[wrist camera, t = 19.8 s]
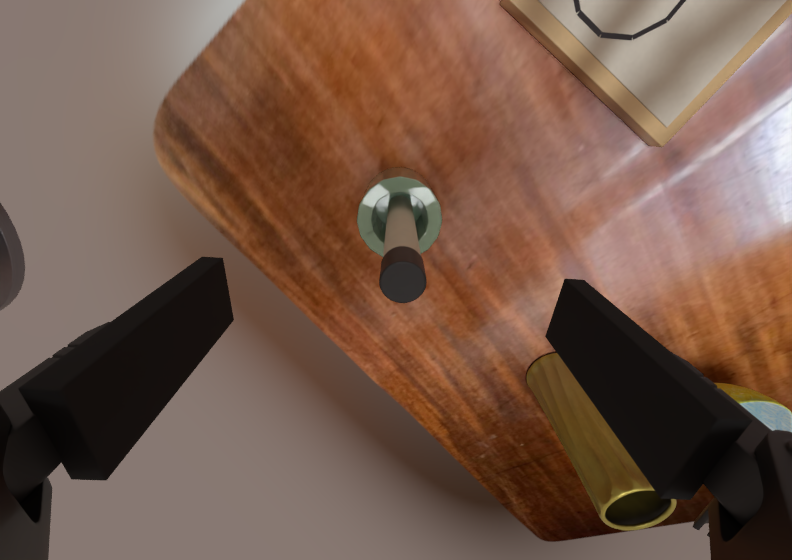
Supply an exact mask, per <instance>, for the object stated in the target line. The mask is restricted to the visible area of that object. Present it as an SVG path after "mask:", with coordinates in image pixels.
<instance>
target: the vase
mask: <svg viewBox="0 0 792 560" xmlns="http://www.w3.org/2000/svg"><path fill="white" fill-rule="evenodd" d="M526 380H527V384H528V386H529V388H530V389H531V390H532V391H533V393H534V395H535V397H536V399H537V400H538V402H539V404H540V406H541V407H542V409H543V411H544V412H545V414H546V416H547V418H548V419H549V421H550V423H551V425H552V427H553V429H554V431H555V432H556V434H557V436H558V438H559V440H560V441H561V443H562V445H563V447H564V449H565V451H566V453H567V455H568V456H569V458H570V460H571V462H572V464H573V466H574V468H575V470H576V472H577V473H578V475H579V477H580V479H581V481H582V483H583V485H584V487H585V489H586V491H587V493H588V495H589V496H590V498H591V500H592V502H593V504H594V506H595V508H596V510H597V512H598V514H599V516H600V518H601V519H602V521H603V522H604V523H605V524H607V525H608V526H610V527H612V528H616V529H620V530H639V529H643V528H647V527H650V526H653V525H656V524H658V523H660V522H661V521H663V520H664V519H666V518H667V517H668V516H669V515H670V514H671V513H672V512H673V510H674V509H675V507H676V499H660V497H659V496H658V494H657V493H656V492H655V490H654V489H653V487H652V486H651V485H650V483H649V482H648V480H647V479H646V477H645V476H644V475H643V473H642V472H641V470H640V469H639V468H638V466H637V465H636V463H635V462H634V461H633V459H632V458H631V456H630V455H629V454H628V452H627V451H626V449H625V448H624V446H623V445H622V444H621V442H620V441H619V439H618V438H617V437H616V435H615V434H614V432H613V431H612V430H611V428H610V427H609V425H608V424H607V423H606V421H605V420H604V418H603V417H602V415H601V414H600V413H599V411H598V410H597V408H596V407H595V406H594V404H593V403H592V401H591V400H590V399H589V397H588V396H587V394H586V393H585V391H584V390H583V389H582V387H581V386H580V384H579V383H578V382H577V380H576V379H575V377H574V376H573V375H572V373H571V372H570V370H569V369H568V368H567V366H566V365H565V363H564V362H563V360H562V359H561V358H560V356H559V355H558V353H552V354H548V355H545V356H543V357H541V358H539V359H538V360H537V361H535V362H534V363H533V364H532V366H531V367H530V369H529V370H528V372H527V377H526Z"/></svg>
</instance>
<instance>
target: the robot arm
mask: <svg viewBox="0 0 792 560" xmlns="http://www.w3.org/2000/svg"><path fill="white" fill-rule="evenodd" d="M233 320H234V319H233V313H232V307H231V302H230V296H229V290H228V285H227V279H226V274H225V268H224V263H223V258H213V257H201V258H200V259H198V260H197V261H195V262H194V263H193V264H191V265H190V266H188V267H187V268H186V269H184V270H183V271H181V272H180V273H179V274H177V275H176V276H175V277H173V278H172V279H170V280H169V281H167V282H166V283H165V284H163V285H162V286H161V287H159V288H158V289H156V290H155V291H153V292H152V293H151V294H149V295H148V296H146V297H145V298H144V299H143V300H141V301H139V302H138V303H137V304H135V305H134V306H133V307H131V308H130V309H129V310H127V311H126V312H124V313H123V314H121V315H120V316H119V317H117V318H116V319H115V320H113V321H112V322H108V323H105V324H103V325H101V326H99V327H96V328H94V329H92V330H90V331H87V332H85V333H84V334H83V335H81V336H80V337H78V338H77V339H75V340H74V341H73V342H71V343H70V344H68V347H64V348H62V349H61V350H59V351H58V352H57V353H55V354H54V355H53V357H52V358H48V359H46V360H45V361H44V362H42V363H41V364H39V365H38V366H36V367H35V368H33V369H32V370H30V371H29V372H28V373H26V374H25V375H23V376H22V377H20V378H19V379H17V380H16V381H15V382H13V383H12V384H10V385H9V386H7V387H6V388H4V389H3V390H1V391H0V560H48V552H49V535H50V516H51V499H52V486H51V483H50V481H49V479H48V478H47V476H49V475H50V473H51V472H52V471H53V470H54V469H55V468H56V467H57V466H58V465H59V464H60V463H61V462H62V464H63V465H64V467H65V469H66V471H67V472H68V474H69V476H70V477H71V479H80V480H107V479H108V478H109V476H110V475H111V474H112V473H113V471H114V470H115V469H116V467H117V466H118V465H119V463H120V462H121V461H122V460H123V459H124V457H125V456H126V455H127V454H128V452H129V451H130V450H131V449H132V447H133V446H134V445H135V444H136V442H137V441H138V440H139V439H140V437H141V436H142V435H143V434H144V432H145V431H146V430H147V428H148V427H149V426H150V425H151V423H152V422H153V421H154V420H155V418H156V417H157V416H158V415H159V413H160V412H161V411H162V410H163V408H164V407H165V406H166V405H167V403H168V402H169V401H170V400H171V398H172V397H173V396H174V394H175V393H176V392H177V391H178V389H179V388H180V387H181V386H182V384H183V383H184V382H185V381H186V379H187V378H188V377H189V376H190V374H191V373H192V372H193V371H194V369H195V368H196V367H197V365H198V364H199V363H200V362H201V361H202V359H203V358H204V357H205V355H206V354H207V353H208V352H209V350H210V349H211V348H212V347H213V345H214V344H215V343H216V342H217V340H218V339H219V338H220V337H221V335H222V334H223V333H224V332H225V330H226V329H227V328H228V326H229V325H230V324H231V323H232V322H233ZM546 338H547V339H548V341H549V342H550V344H551V345H552V346H553V348H554V349H555V351H556V352H557V353H558V355H559V356H560V358H561V359H562V360H563V362H564V363H565V365H566V366H567V368H568V369H569V370H570V372H571V373H572V375H573V376H574V377H575V379H576V380H577V382H578V383H579V384H580V386H581V387H582V389H583V390H584V391H585V393H586V394H587V396H588V397H589V399H590V400H591V401H592V403H593V404H594V406H595V407H596V408H597V410H598V411H599V413H600V414H601V415H602V417H603V418H604V420H605V421H606V423H607V424H608V425H609V427H610V428H611V430H612V431H613V432H614V434H615V435H616V437H617V438H618V439H619V441H620V442H621V444H622V445H623V446H624V448H625V449H626V451H627V452H628V454H629V455H630V456H631V458H632V459H633V461H634V462H635V463H636V465H637V466H638V468H639V469H640V470H641V472H642V473H643V475H644V476H645V477H646V479H647V480H648V482H649V483H650V485H651V486H652V487H653V489H654V490H655V492H656V493H657V494H658V496H659V497H660V499H687V500H691V498H692V497H693V496H694V495H695V493H696V492H697V491H698V489H699V488H700V487H701V486H702V484H704V485H705V486H706V487H707V488H708V489H709V491H710V492H711V493H712V494H713V495H714V496H715V497H714V498H713V499H712V501H711V502H710V503H709V504H708V505H707V507H706V508H705V509H704V510H703V511H702V513H701V514H700V515H699V516H698V517H697V519H696V520H695V522H694V525H693V527H694V528H695V529H697V530H699V529H700V528H701V527H702V526H703V525H704V524H705V523H709V533H708V534H707V536H709V537H710V550H711V560H792V432H789V431H783V430H773V431H772V430H771V429H770V428H768V427H767V426H766V425H765V424H763V423H762V422H761V421H760V420H759V419H757V418H756V417H755V416H754V415H752V414H751V413H750V412H749V411H748V410H746V409H745V408H744V407H743V406H741V405H740V404H739V403H738V402H736V401H735V400H734V399H733V398H732V397H730V396H729V395H728V394H727V393H725V392H724V391H723V390H722V389H720V388H717V385H716V384H714V383H713V382H712V381H711V380H710V379H708V378H707V377H704V376H703V374H702V373H701V372H700V371H699V370H697V369H696V368H695V367H694V366H692V365H691V364H690V363H689V362H687V361H686V360H684V359H682V358H680V357H679V356H677V355H675V354H673V353H672V352H670V351H669V350H667V349H666V348H665V347H664V346H663V345H661V344H660V343H659V342H658V341H657V340H655V339H654V338H653V337H652V336H651V335H649V334H648V333H647V332H646V331H645V330H643V329H642V328H641V327H640V326H639V325H637V324H636V323H635V322H634V321H633V320H631V319H630V318H629V317H628V316H627V315H625V314H624V313H623V312H622V311H621V310H619V309H618V308H617V307H616V306H615V305H613V304H612V303H611V302H610V301H609V300H607V299H606V298H605V297H604V296H603V295H601V294H600V293H599V292H598V291H597V290H595V289H594V288H593V287H592V286H591V285H589V284H588V283H587V282H586V281H585V280H576V279H565V280H564V283H563V286H562V289H561V292H560V295H559V298H558V301H557V304H556V307H555V310H554V313H553V316H552V319H551V322H550V325H549V328H548V331H547V334H546Z"/></svg>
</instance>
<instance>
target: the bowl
mask: <svg viewBox="0 0 792 560" xmlns="http://www.w3.org/2000/svg"><path fill="white" fill-rule="evenodd" d="M714 384H716V385H717V388H720V389H722V390H723V391H724V392H725V393H727V394H728V395H729V396H730V397H732V398H733V399H734V400H735V401H736V402H738V403H739V404H740V405H741V406H743V407H744V408H745V409H746V410H748V411H749V412H750V413H751V414H752V415H754V416H755V417H756V418H757V419H759V420H760V421H761V422H762V423H763V424H765V425H766V426H767V427H768V428H770V429H771V430H772V431H773V430H783V431H789V432H792V412H791V411H790V410H789V409H788V408H786V407H785V406H783V405H782V404H780V403H779V402H777V401H775V400H774V399H772V398H770V397H768V396H765V395H763V394H761V393H759V392H757V391H755V390H752V389H749V388H746V387H742V386H738V385H733V384H726V383H714Z"/></svg>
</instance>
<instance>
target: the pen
mask: <svg viewBox="0 0 792 560" xmlns="http://www.w3.org/2000/svg"><path fill="white" fill-rule="evenodd" d="M379 284H380V288H381V290H382V292H383V294H384V295H385V296H386V297H387V298H389V299H390V300H392V301H395V302H398V303H407V302H411V301H413V300H415V299H417V298H418V297H419V296H420V295H421V294H422V293H423V292H424V290H425V287H426V275H425V269H424V264H423V260H422V257H421V253H420V248H419V242H418V237H417V231H416V225H415V220H414V214H413V209H412V204H411V201H410V200H409V199H408V198H407V197H405V196H395V197H394V198H392V199H391V200H390V202H389V205H388V213H387V223H386V233H385V242H384V252H383V259H382V262H381V271H380V280H379Z"/></svg>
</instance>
